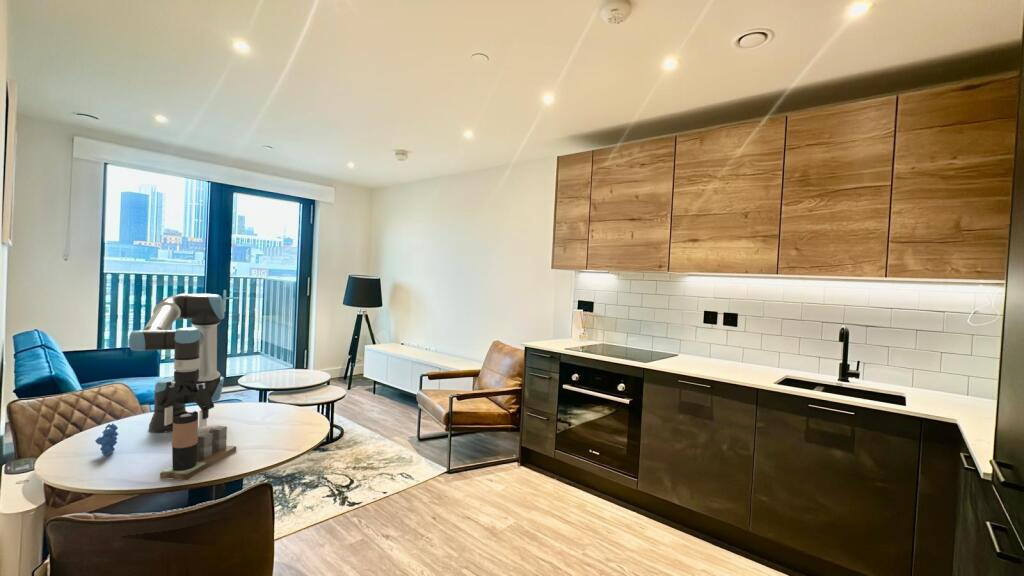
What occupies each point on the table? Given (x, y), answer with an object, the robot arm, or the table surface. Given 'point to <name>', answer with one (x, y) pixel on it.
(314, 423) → the table surface
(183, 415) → the travel mug
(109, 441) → the grapes
